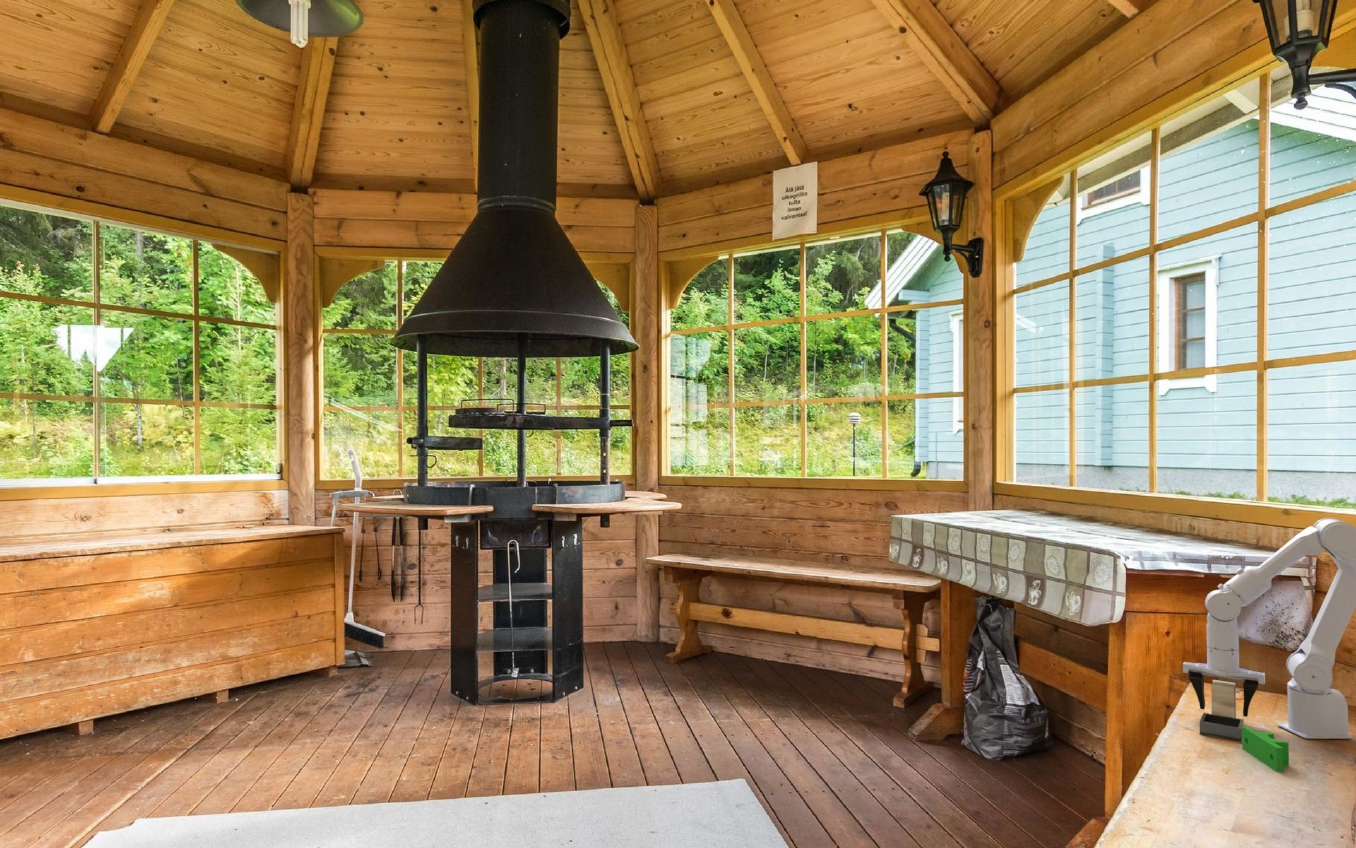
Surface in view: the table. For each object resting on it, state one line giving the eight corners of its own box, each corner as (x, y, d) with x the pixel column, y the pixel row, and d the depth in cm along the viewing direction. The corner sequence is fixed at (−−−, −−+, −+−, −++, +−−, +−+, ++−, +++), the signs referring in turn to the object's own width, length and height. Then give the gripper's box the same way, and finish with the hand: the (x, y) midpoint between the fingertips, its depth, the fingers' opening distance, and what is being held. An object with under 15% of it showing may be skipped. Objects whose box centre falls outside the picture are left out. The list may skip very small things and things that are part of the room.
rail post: (1213, 717, 179) (1213, 679, 179) (1236, 720, 176) (1235, 683, 177) (1211, 722, 176) (1211, 684, 176) (1234, 726, 173) (1233, 687, 173)
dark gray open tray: (1203, 724, 174) (1203, 712, 174) (1243, 731, 170) (1243, 719, 170) (1199, 734, 169) (1199, 721, 169) (1241, 741, 164) (1241, 728, 164)
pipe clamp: (1299, 774, 149) (1298, 748, 149) (1276, 773, 149) (1276, 747, 149) (1262, 750, 160) (1262, 726, 160) (1242, 749, 160) (1241, 726, 160)
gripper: (1180, 646, 178) (1181, 709, 177) (1263, 657, 169) (1264, 724, 169) (1185, 640, 183) (1186, 701, 183) (1265, 650, 174) (1266, 714, 174)
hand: (1223, 711), depth 176 cm, fingers open, 7 cm apart
